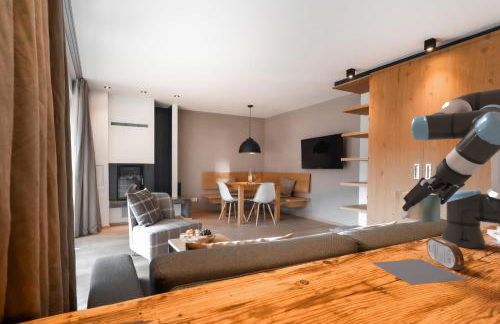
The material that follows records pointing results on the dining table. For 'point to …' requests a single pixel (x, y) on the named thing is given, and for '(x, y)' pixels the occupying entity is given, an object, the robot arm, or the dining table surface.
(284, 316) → the dining table surface
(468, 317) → the dining table surface
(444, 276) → the mat
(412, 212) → the block
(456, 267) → the tin
